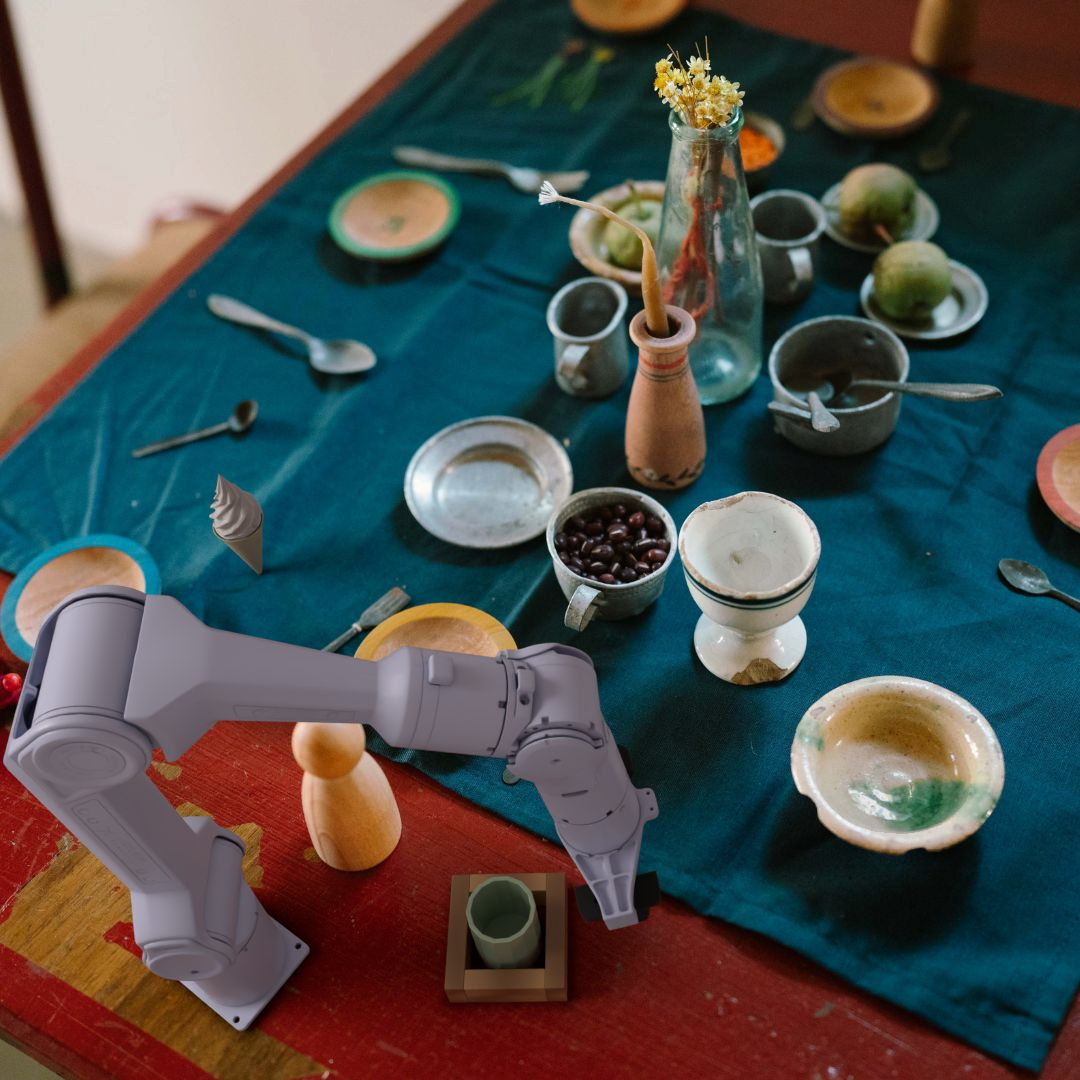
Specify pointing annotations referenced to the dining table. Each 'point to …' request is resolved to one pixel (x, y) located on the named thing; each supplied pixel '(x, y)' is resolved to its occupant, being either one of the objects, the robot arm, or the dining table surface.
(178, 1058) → the dining table surface
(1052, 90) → the dining table surface
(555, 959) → the brown square frame
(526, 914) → the cup
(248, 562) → the ice cream cone
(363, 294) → the dining table surface
